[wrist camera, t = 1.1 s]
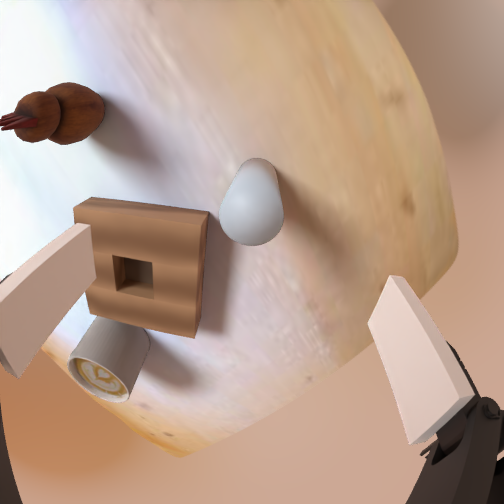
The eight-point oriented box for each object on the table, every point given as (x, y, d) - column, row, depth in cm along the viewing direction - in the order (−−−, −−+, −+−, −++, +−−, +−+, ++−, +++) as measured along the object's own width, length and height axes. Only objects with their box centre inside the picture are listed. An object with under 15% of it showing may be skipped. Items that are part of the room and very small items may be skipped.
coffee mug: (140, 313, 37) (113, 364, 28) (156, 359, 41) (138, 408, 33) (71, 306, 38) (40, 346, 29) (92, 349, 42) (69, 390, 33)
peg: (240, 155, 27) (223, 180, 16) (279, 161, 27) (289, 191, 16) (234, 192, 29) (215, 240, 18) (273, 198, 29) (277, 250, 18)
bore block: (91, 196, 29) (73, 207, 26) (208, 211, 30) (201, 225, 26) (102, 296, 36) (90, 313, 33) (200, 318, 37) (194, 338, 33)
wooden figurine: (122, 107, 25) (22, 114, 11) (94, 147, 27) (-3, 180, 13) (87, 76, 23) (-11, 72, 9) (63, 115, 25) (-33, 134, 11)
